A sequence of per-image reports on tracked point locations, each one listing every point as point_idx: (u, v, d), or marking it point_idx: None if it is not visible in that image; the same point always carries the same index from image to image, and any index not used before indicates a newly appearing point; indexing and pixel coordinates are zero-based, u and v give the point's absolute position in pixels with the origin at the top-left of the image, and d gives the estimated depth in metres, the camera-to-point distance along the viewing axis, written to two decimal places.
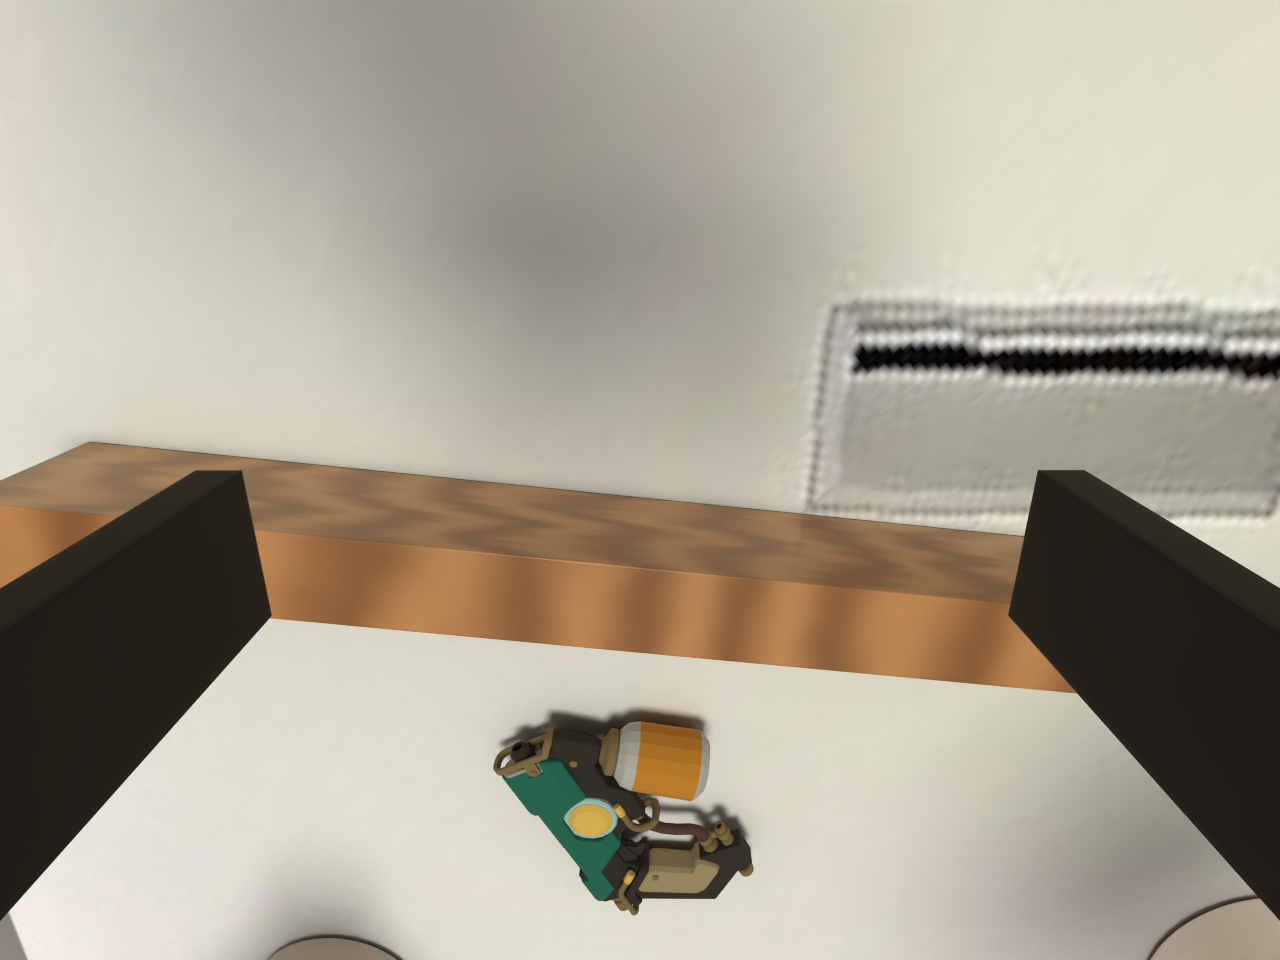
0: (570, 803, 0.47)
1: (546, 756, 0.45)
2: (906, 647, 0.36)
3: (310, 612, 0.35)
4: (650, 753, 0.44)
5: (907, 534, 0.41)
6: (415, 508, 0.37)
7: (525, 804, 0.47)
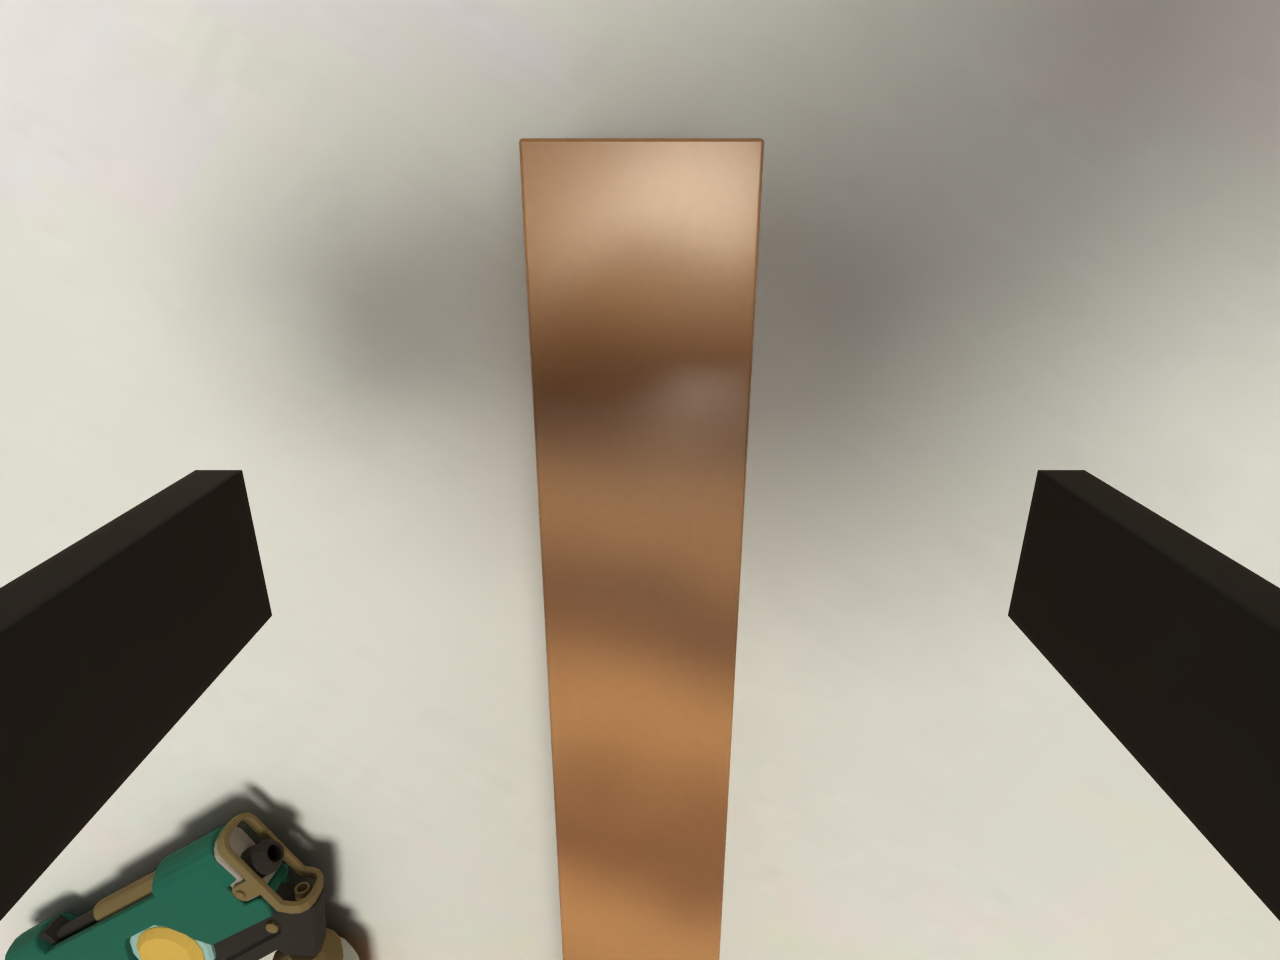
0: (196, 935, 0.30)
1: (282, 910, 0.29)
2: None
3: (574, 787, 0.19)
4: None
5: None
6: None
7: (168, 878, 0.29)
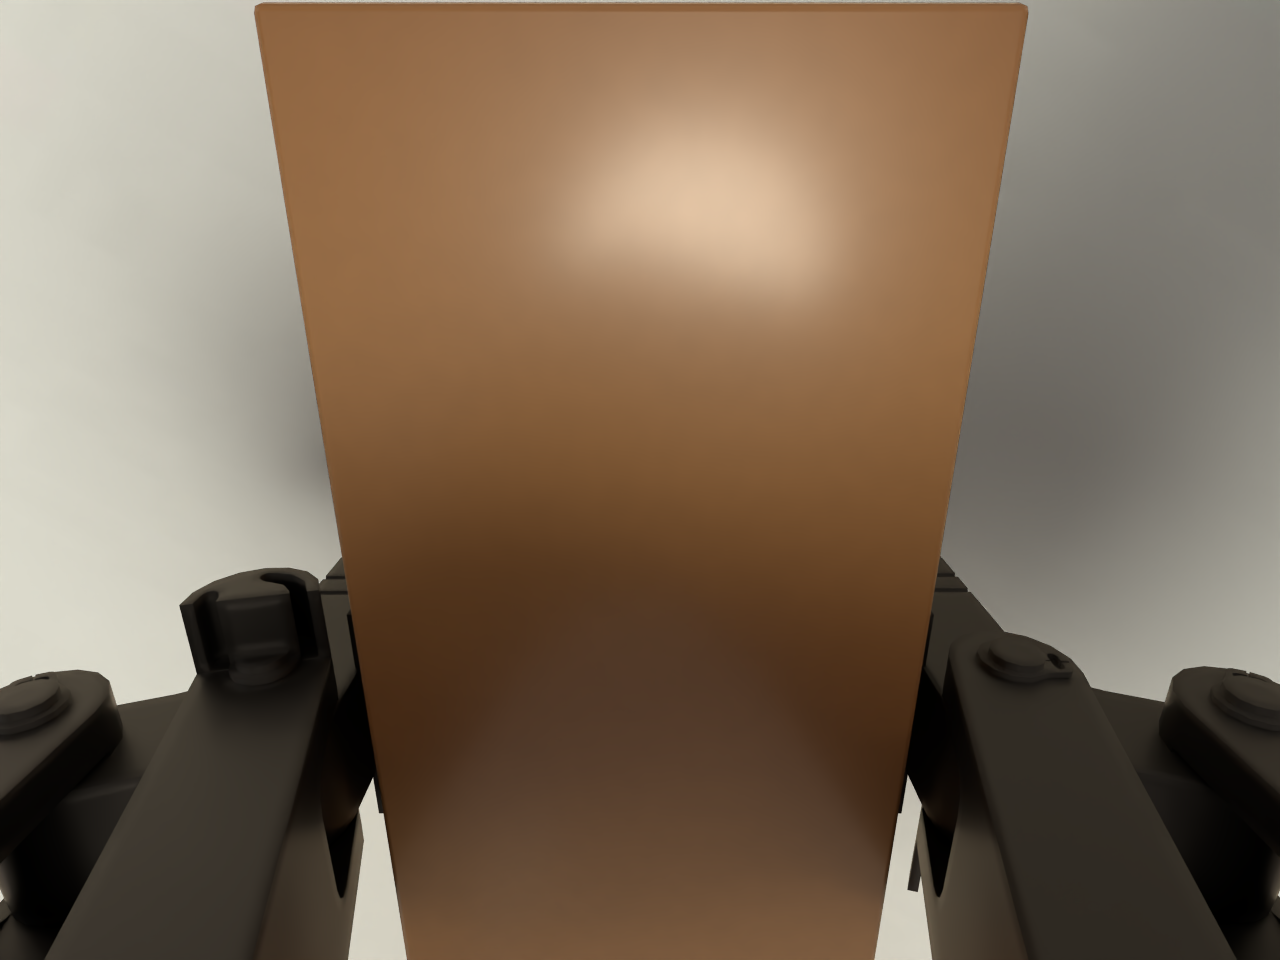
0: None
1: None
2: None
3: None
4: None
5: None
6: None
7: None
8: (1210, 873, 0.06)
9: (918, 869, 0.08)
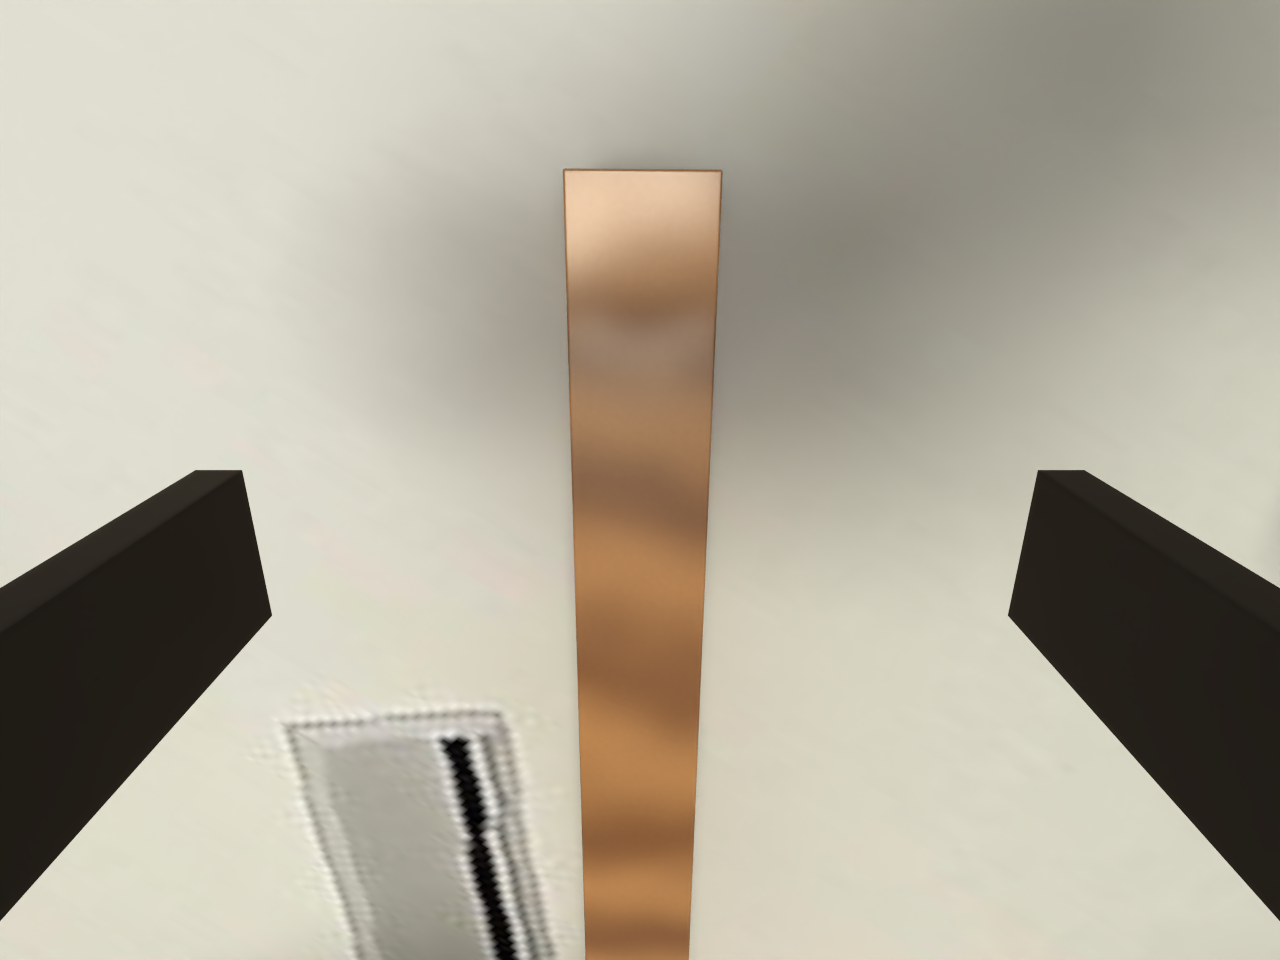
0: None
1: None
2: None
3: (591, 631, 0.27)
4: None
5: None
6: None
7: None
8: None
9: None
